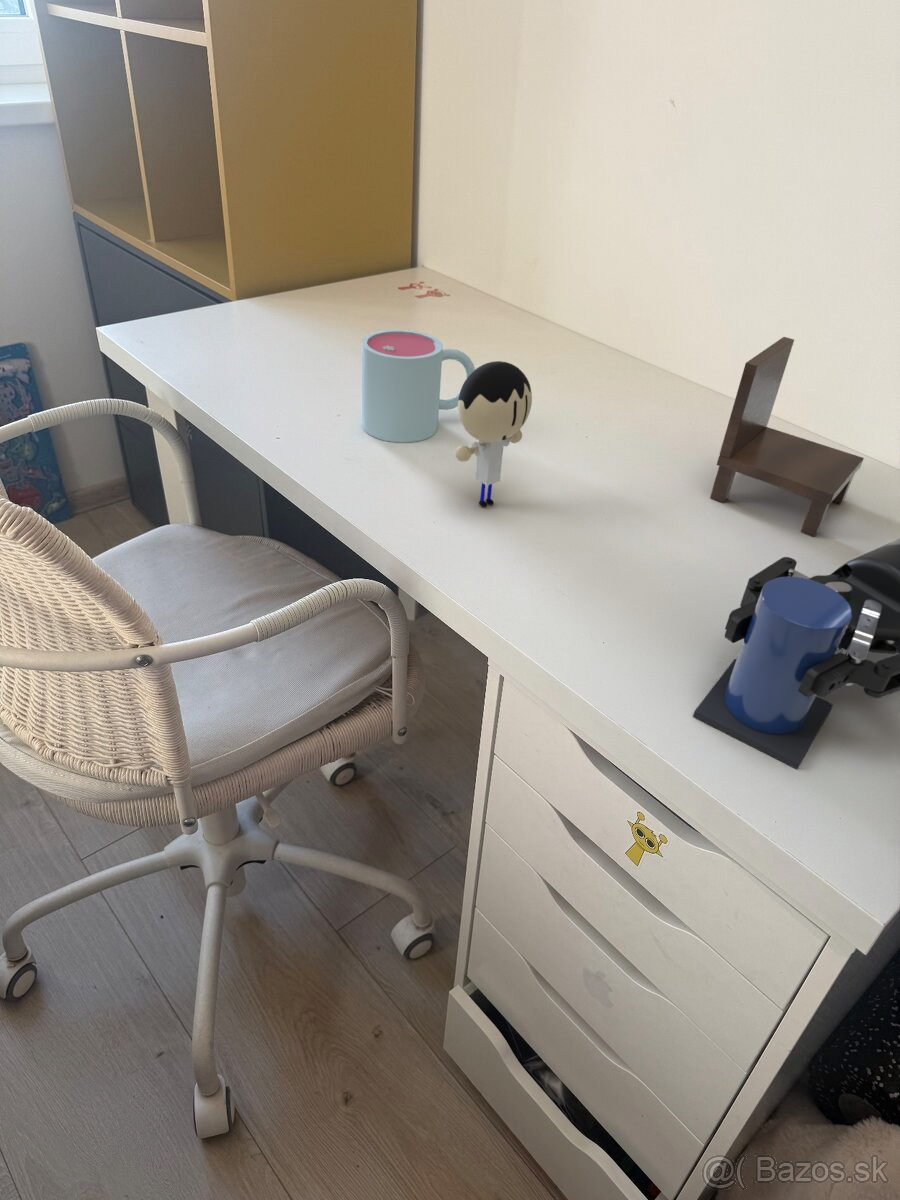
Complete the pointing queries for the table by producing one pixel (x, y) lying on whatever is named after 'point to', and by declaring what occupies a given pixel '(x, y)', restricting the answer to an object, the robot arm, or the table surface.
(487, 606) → the table surface
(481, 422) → the toy
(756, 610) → the canister
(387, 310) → the table surface
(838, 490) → the miniature wooden chair
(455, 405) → the mug
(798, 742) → the mat
